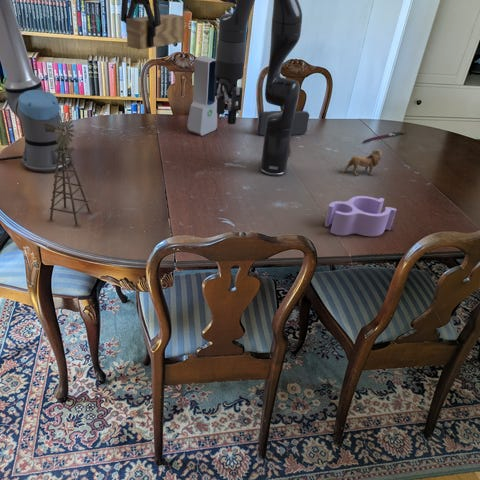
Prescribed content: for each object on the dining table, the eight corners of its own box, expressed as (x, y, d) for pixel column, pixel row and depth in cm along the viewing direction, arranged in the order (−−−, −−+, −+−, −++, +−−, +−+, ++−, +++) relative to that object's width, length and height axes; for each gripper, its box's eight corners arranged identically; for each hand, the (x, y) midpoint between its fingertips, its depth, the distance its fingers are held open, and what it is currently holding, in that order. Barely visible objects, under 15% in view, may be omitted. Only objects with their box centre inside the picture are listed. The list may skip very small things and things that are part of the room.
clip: (337, 240, 135) (342, 219, 131) (318, 218, 145) (322, 198, 141) (395, 233, 141) (402, 213, 137) (373, 213, 151) (378, 194, 147)
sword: (401, 131, 224) (402, 128, 223) (406, 133, 222) (407, 131, 221) (358, 142, 208) (358, 140, 207) (363, 145, 206) (363, 142, 205)
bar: (140, 49, 168) (139, 21, 163) (127, 46, 170) (126, 18, 165) (183, 42, 187) (184, 16, 182) (171, 39, 190) (172, 14, 185)
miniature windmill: (76, 226, 128) (64, 120, 112) (48, 221, 129) (32, 115, 113) (91, 211, 136) (82, 109, 120) (65, 206, 137) (52, 104, 121)
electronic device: (200, 136, 194) (204, 61, 178) (186, 132, 197) (188, 57, 181) (217, 129, 203) (222, 57, 187) (203, 125, 206) (207, 53, 190)
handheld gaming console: (303, 132, 210) (307, 110, 205) (306, 134, 208) (310, 112, 203) (256, 133, 203) (259, 111, 198) (258, 135, 201) (261, 113, 196)
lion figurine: (372, 168, 182) (378, 147, 177) (380, 174, 178) (386, 152, 173) (340, 171, 177) (345, 148, 172) (347, 177, 173) (352, 154, 168)
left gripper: (171, -24, 161) (170, 47, 173) (117, -31, 164) (120, 39, 176) (162, -23, 154) (162, 50, 167) (107, -30, 158) (111, 42, 170)
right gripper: (254, 65, 119) (247, 126, 128) (233, 52, 129) (228, 110, 138) (227, 65, 116) (222, 128, 125) (207, 52, 127) (204, 111, 135)
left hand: (141, 44), depth 172 cm, fingers closed on bar, 7 cm apart
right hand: (225, 118), depth 131 cm, fingers open, 8 cm apart
